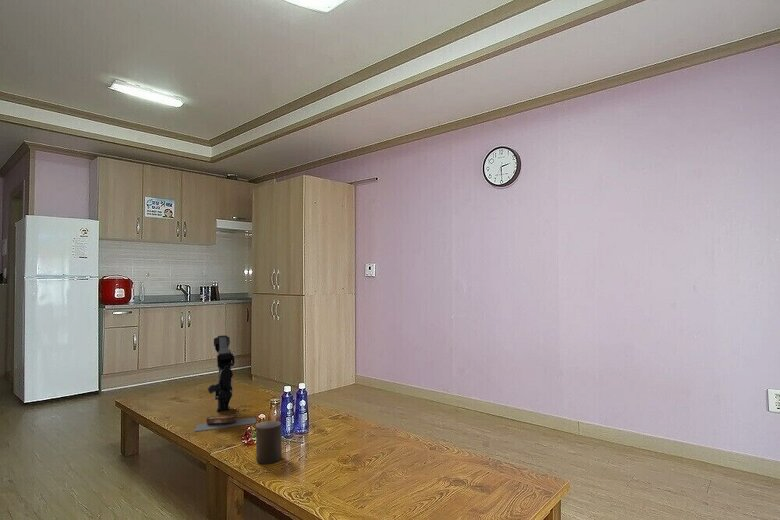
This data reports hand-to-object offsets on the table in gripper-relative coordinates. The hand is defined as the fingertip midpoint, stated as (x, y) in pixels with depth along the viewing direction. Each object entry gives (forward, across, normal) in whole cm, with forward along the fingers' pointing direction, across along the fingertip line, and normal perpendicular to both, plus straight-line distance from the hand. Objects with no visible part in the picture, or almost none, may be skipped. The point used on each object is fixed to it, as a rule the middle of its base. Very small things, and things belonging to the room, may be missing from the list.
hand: (226, 407), depth 229 cm
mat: (+7, +6, 0) cm, 9 cm away
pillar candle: (+7, +60, +17) cm, 63 cm away
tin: (+6, -1, 0) cm, 6 cm away
